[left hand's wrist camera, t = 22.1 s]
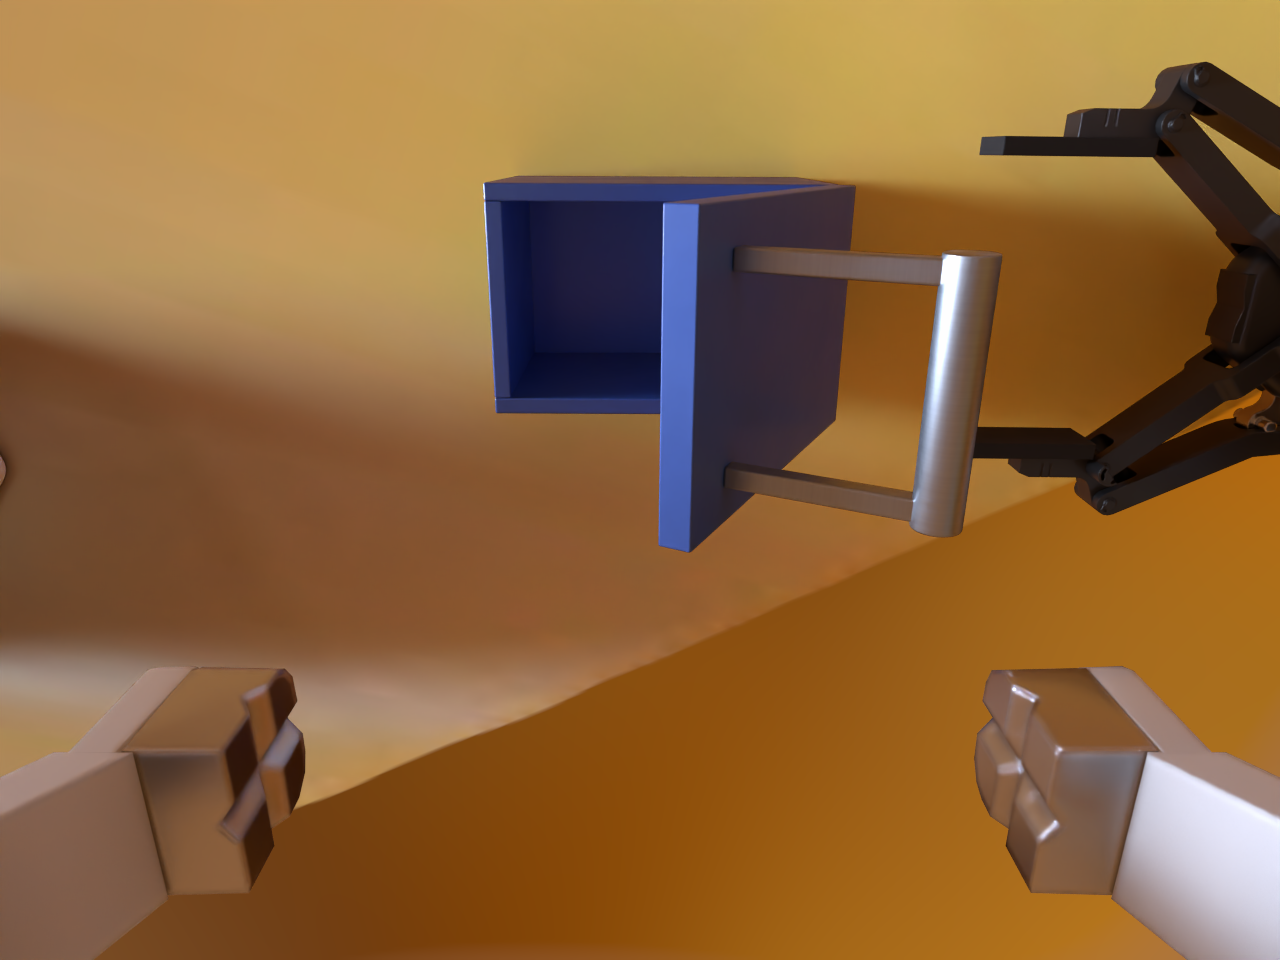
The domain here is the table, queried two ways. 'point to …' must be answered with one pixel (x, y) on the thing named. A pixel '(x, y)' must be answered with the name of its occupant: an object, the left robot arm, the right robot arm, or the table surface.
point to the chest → (585, 286)
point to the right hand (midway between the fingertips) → (968, 302)
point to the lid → (799, 359)
